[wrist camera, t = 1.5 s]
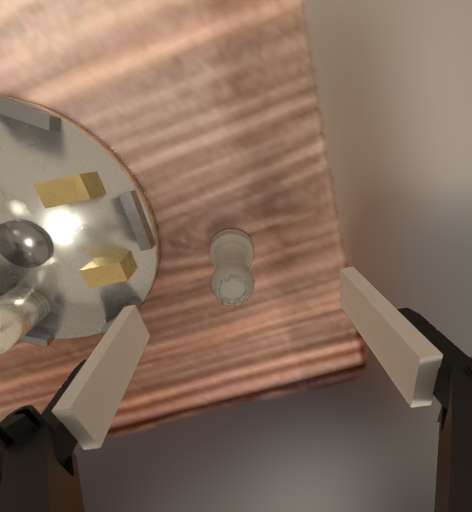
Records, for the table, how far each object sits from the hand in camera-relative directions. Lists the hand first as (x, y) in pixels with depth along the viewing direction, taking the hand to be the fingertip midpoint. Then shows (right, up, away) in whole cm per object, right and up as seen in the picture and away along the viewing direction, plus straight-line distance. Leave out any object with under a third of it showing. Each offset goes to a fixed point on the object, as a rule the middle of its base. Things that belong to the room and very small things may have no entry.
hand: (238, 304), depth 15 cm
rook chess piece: (-1, +4, +9) cm, 10 cm away
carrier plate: (-19, +5, +8) cm, 21 cm away
